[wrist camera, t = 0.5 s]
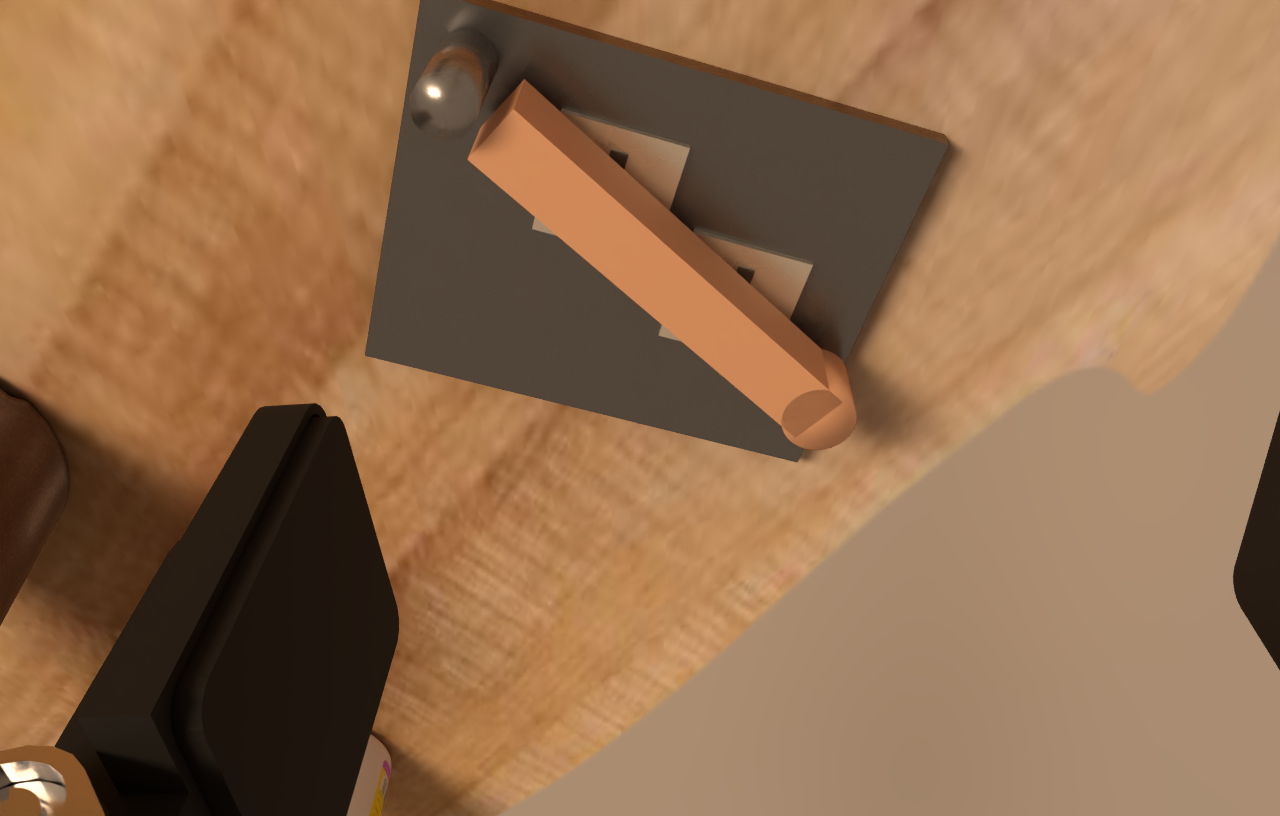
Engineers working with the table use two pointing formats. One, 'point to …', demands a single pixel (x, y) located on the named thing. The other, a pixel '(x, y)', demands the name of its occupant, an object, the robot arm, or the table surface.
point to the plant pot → (26, 492)
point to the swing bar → (664, 267)
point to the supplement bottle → (371, 781)
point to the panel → (670, 171)
